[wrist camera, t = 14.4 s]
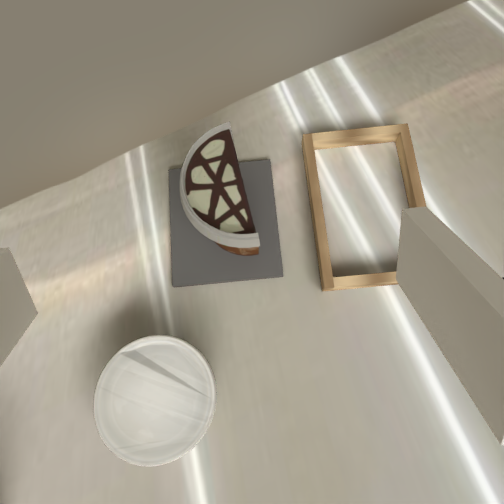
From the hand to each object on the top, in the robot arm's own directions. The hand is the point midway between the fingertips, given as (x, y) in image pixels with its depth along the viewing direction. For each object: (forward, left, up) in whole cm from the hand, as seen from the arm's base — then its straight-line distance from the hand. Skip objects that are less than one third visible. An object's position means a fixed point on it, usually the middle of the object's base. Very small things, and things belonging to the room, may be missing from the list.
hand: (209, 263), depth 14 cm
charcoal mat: (+2, -13, -30) cm, 32 cm away
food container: (+2, -12, -29) cm, 32 cm away
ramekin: (+9, +5, -30) cm, 32 cm away
